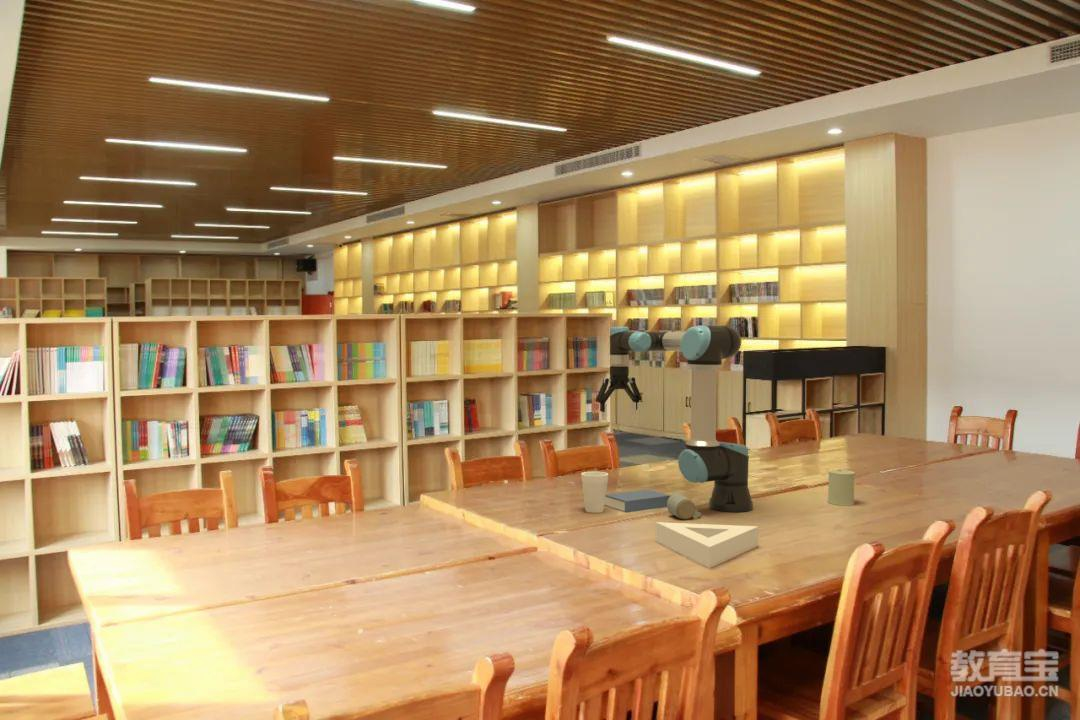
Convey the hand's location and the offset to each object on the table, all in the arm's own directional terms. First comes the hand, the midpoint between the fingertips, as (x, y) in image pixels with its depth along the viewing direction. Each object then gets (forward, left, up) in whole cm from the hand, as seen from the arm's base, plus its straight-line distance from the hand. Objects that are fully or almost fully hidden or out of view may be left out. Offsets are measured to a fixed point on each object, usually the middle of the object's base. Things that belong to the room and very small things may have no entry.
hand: (618, 419), depth 332 cm
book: (-29, +13, -28) cm, 43 cm away
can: (-62, -55, -28) cm, 88 cm away
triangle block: (-88, +28, -28) cm, 97 cm away
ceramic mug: (-51, +10, -28) cm, 59 cm away
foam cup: (-28, +31, -28) cm, 50 cm away
